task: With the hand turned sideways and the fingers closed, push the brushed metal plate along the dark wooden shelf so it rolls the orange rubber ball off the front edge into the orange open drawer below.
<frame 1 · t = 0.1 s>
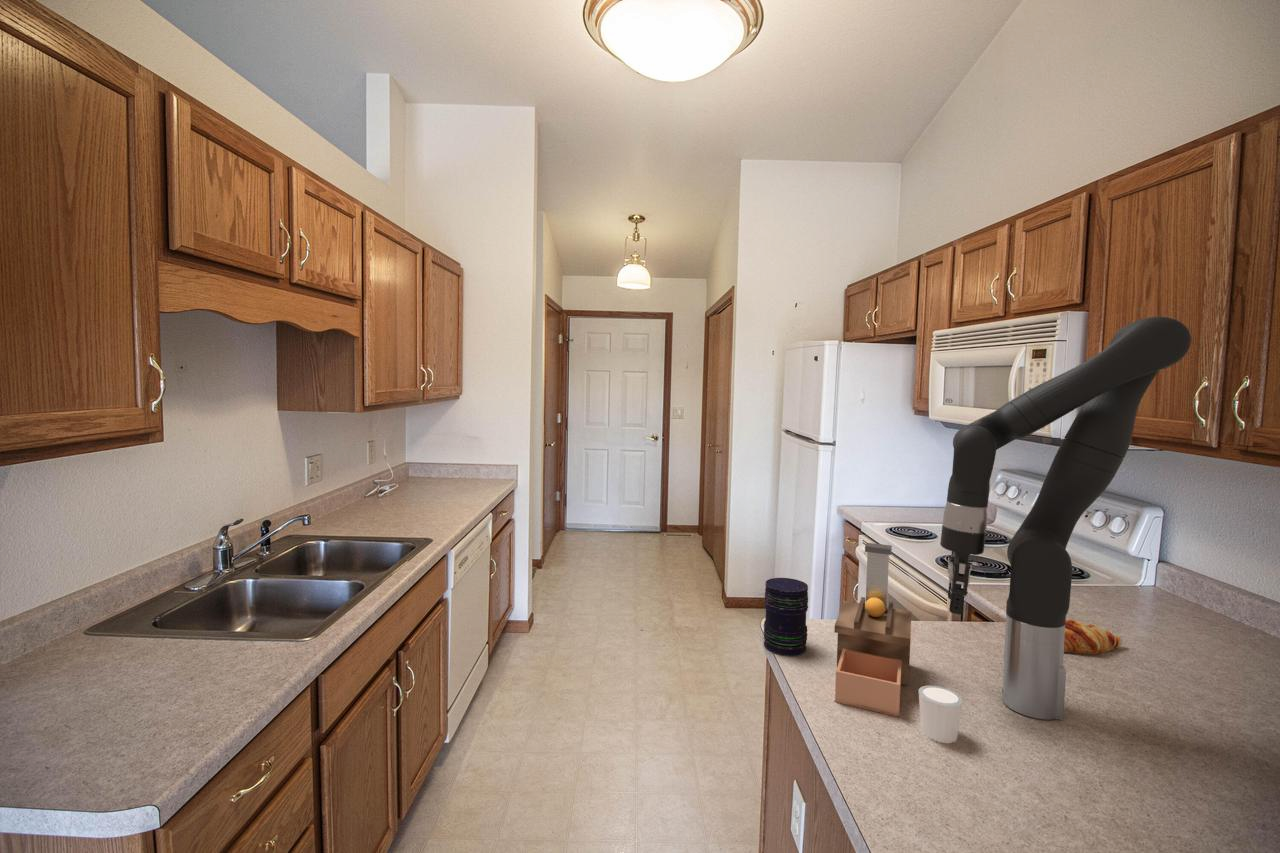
hand: (954, 606, 113), 17 cm above the worktop, tool pointing down, fingers open, 8 cm apart
brushed metal plate: (877, 577, 124), point 19 cm above the worktop, slide at 0.0 cm
croissant: (1078, 649, 135), on the worktop
ball: (875, 607, 121), point 14 cm above the worktop, touching shelf
shelf: (872, 673, 120), on the worktop
white cylinder: (938, 734, 99), on the worktop
dark blue ribbed barrel: (784, 647, 133), on the worktop
orange open drawer: (868, 695, 112), on the worktop
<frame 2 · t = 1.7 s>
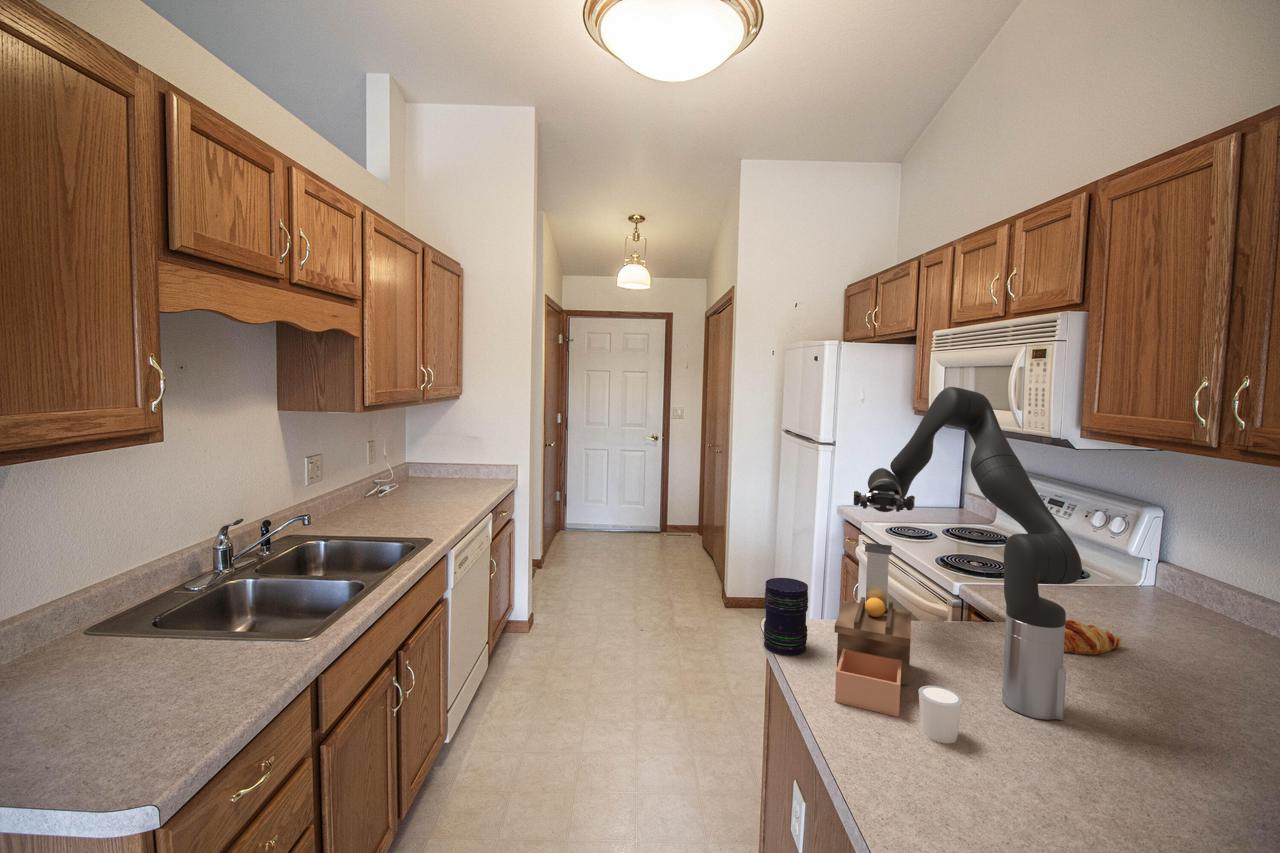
hand: (881, 505, 129), 34 cm above the worktop, tool horizontal, fingers open, 6 cm apart
nothing on the worktop moved.
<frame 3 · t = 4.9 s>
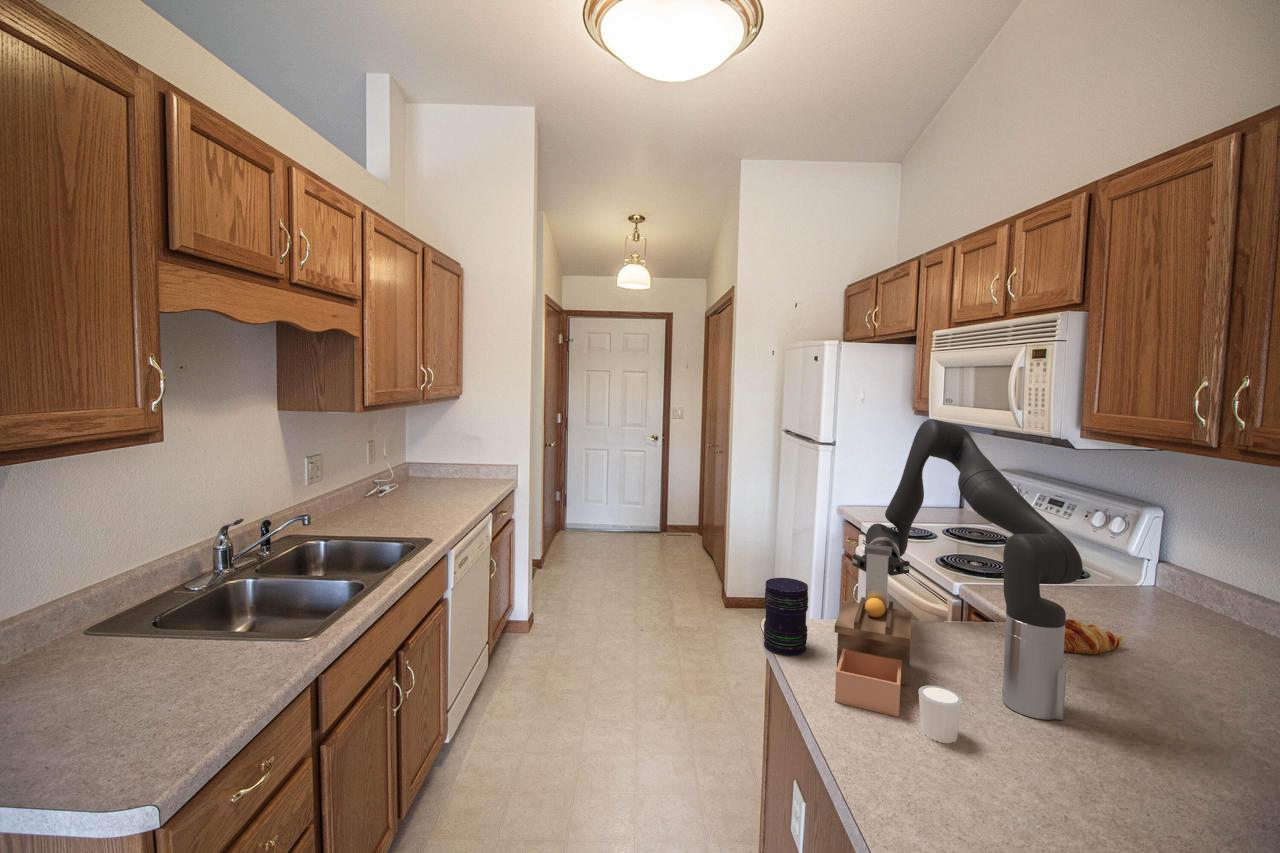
hand: (877, 573, 125), 20 cm above the worktop, tool horizontal, fingers closed
brushed metal plate: (876, 578, 123), point 19 cm above the worktop, slide at 1.2 cm, touching gripper
ball: (874, 607, 120), point 14 cm above the worktop
everything else where it was.
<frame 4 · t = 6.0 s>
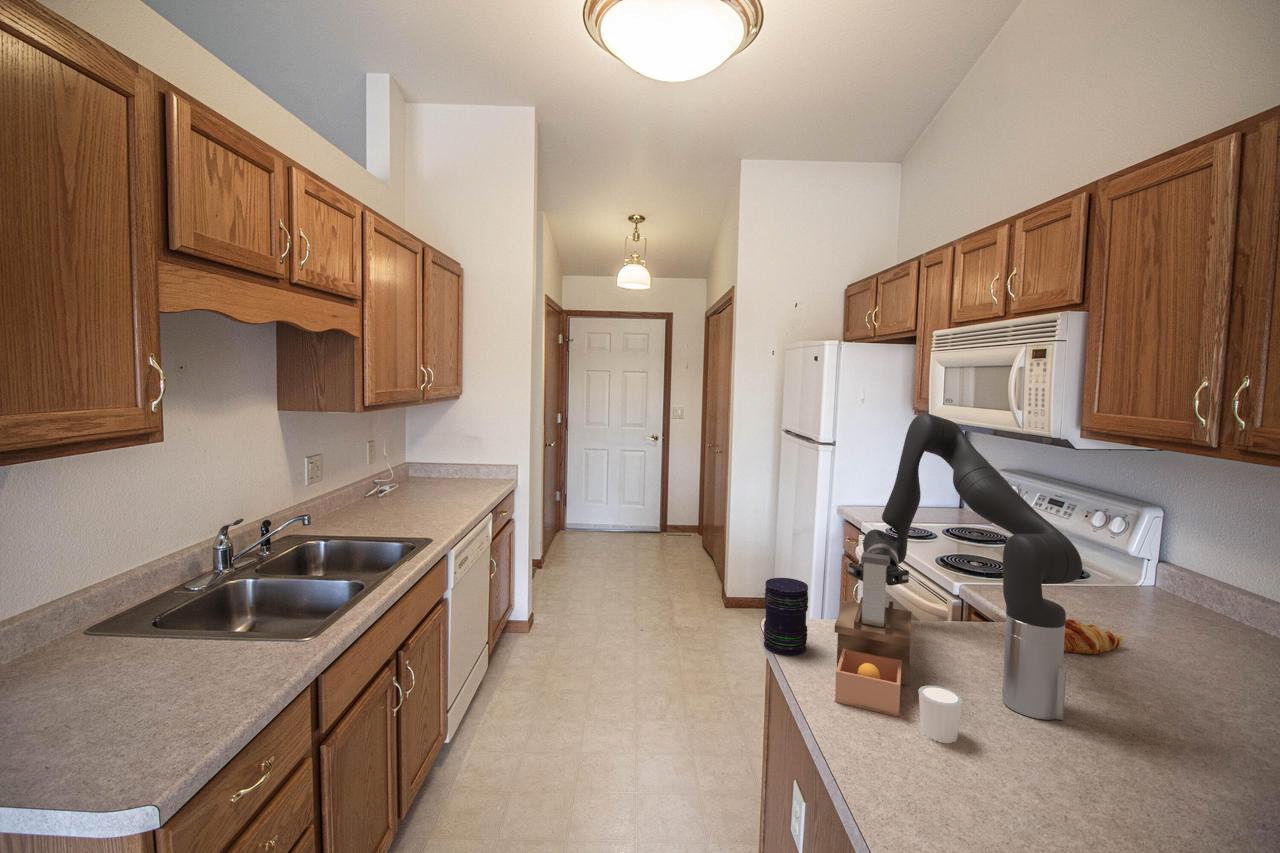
hand: (875, 583, 118), 20 cm above the worktop, tool horizontal, fingers closed
brushed metal plate: (874, 589, 116), point 19 cm above the worktop, slide at 9.1 cm, touching gripper
ball: (868, 674, 110), point 5 cm above the worktop, tilted 43°
everything else where it was.
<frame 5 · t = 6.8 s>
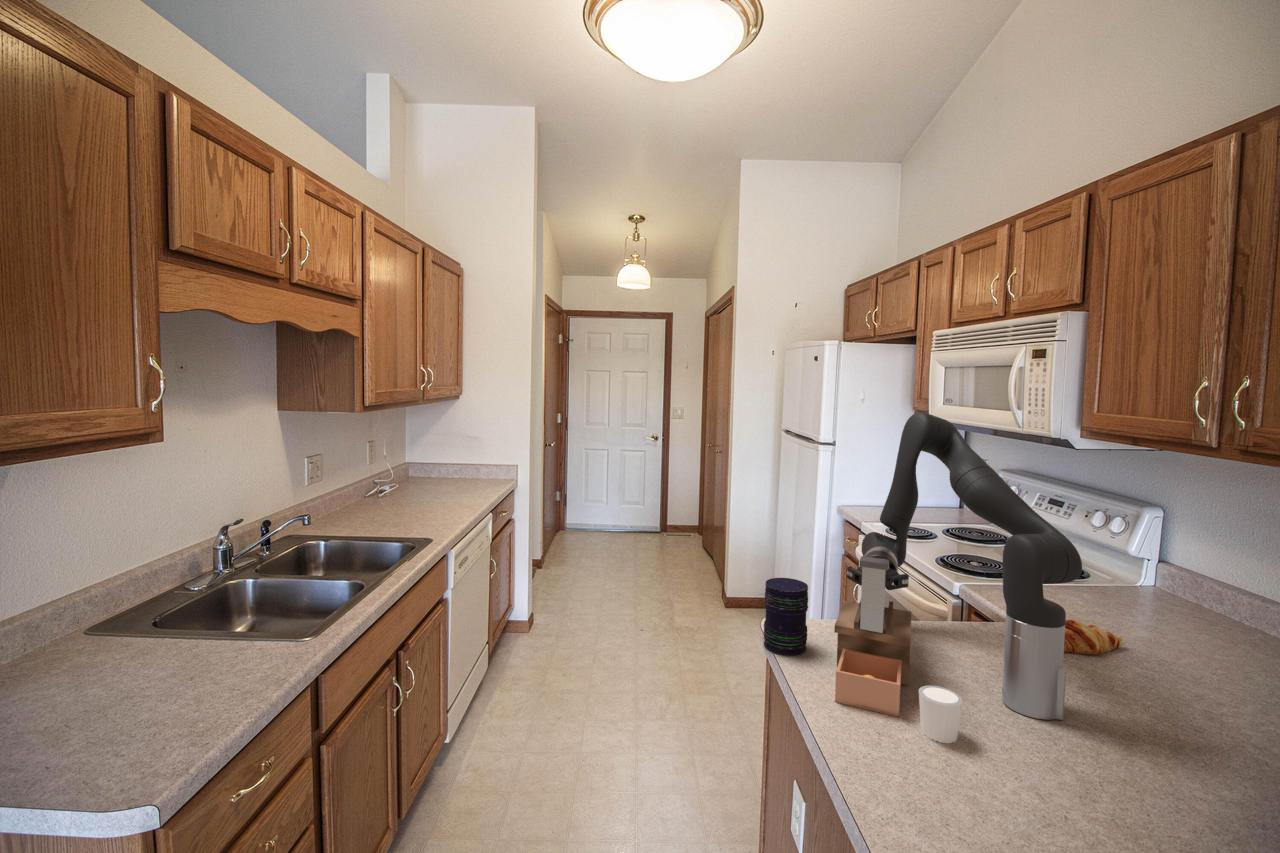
hand: (874, 588, 115), 20 cm above the worktop, tool horizontal, fingers closed
brushed metal plate: (873, 594, 113), point 19 cm above the worktop, slide at 12.4 cm, touching gripper
ball: (868, 686, 110), point 3 cm above the worktop, tilted 47°, touching orange open drawer
everything else where it was.
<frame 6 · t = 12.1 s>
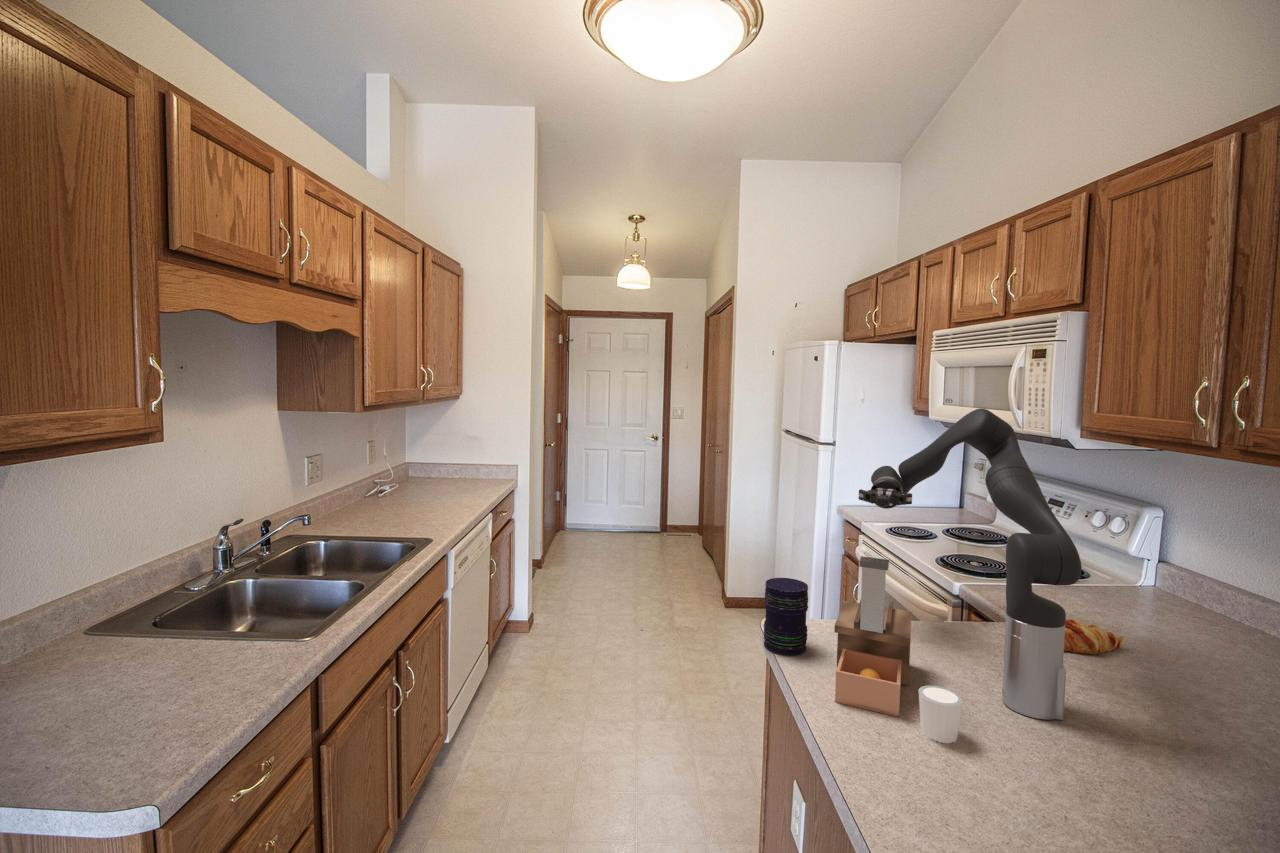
hand: (882, 502, 134), 34 cm above the worktop, tool horizontal, fingers closed
brushed metal plate: (873, 594, 113), point 19 cm above the worktop, slide at 12.5 cm
ball: (869, 679, 113), point 3 cm above the worktop, tilted 40°, touching orange open drawer
everything else where it was.
at the end: ball inside the target area on the orange open drawer (1.4 cm from its centre), point 2.6 cm above the orange open drawer's base; brushed metal plate slide at 12.5 cm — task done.
